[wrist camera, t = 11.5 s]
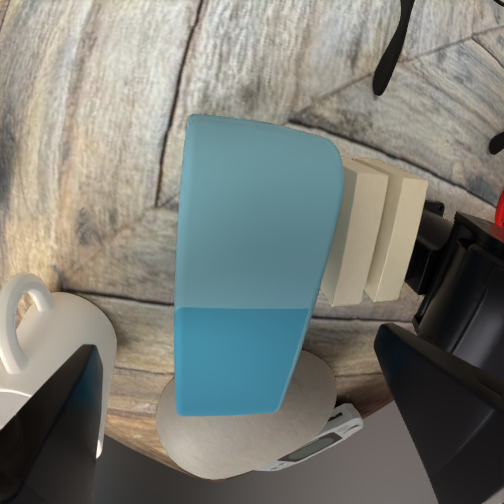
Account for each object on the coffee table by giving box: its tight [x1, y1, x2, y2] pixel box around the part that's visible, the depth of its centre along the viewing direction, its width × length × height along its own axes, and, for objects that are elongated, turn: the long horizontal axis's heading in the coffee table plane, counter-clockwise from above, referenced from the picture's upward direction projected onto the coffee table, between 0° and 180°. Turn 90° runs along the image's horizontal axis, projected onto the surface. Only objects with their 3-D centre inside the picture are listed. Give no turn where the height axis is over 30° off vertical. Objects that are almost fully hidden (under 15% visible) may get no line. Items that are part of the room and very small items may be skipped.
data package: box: [174, 114, 344, 416], centre depth 15 cm, size 12×4×12 cm, turn 172°
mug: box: [0, 272, 117, 458], centre depth 17 cm, size 12×8×10 cm
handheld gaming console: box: [254, 403, 363, 471], centre depth 33 cm, size 14×3×8 cm
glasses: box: [373, 0, 504, 155], centre depth 15 cm, size 17×18×5 cm
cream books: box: [320, 155, 428, 307], centre depth 20 cm, size 5×8×6 cm, turn 177°
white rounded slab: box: [156, 350, 337, 479], centre depth 26 cm, size 19×7×16 cm
